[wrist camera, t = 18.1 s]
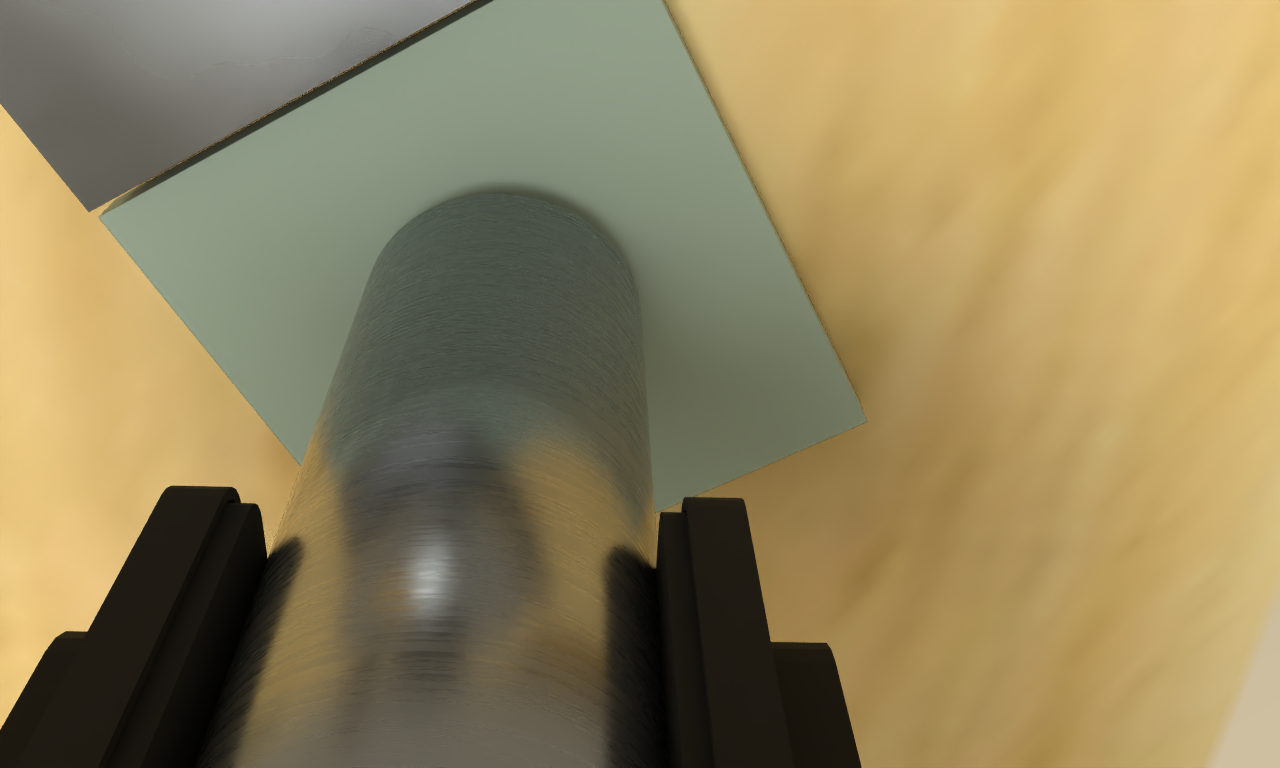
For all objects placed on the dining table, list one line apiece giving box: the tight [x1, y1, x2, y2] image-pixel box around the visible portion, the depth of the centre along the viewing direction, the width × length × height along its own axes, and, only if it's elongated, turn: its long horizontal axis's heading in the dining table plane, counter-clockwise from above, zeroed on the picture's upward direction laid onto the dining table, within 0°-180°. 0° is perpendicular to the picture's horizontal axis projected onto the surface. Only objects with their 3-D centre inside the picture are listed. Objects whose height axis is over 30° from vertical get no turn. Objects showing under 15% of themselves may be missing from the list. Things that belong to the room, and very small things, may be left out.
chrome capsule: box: [193, 193, 669, 768], centre depth 10 cm, size 4×4×12 cm
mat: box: [98, 0, 867, 513], centre depth 16 cm, size 8×8×1 cm
